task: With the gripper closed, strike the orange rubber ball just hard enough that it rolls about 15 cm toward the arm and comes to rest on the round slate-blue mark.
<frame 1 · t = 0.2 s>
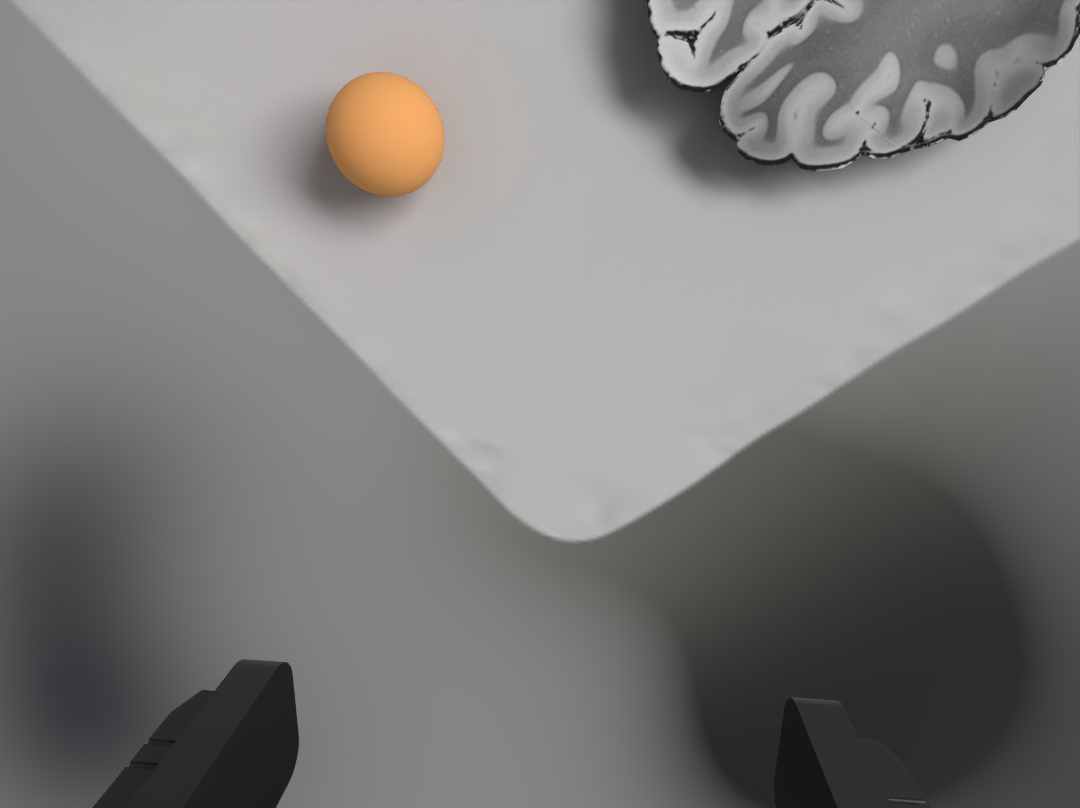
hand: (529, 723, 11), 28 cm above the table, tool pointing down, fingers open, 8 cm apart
ball: (386, 136, 33), on the table
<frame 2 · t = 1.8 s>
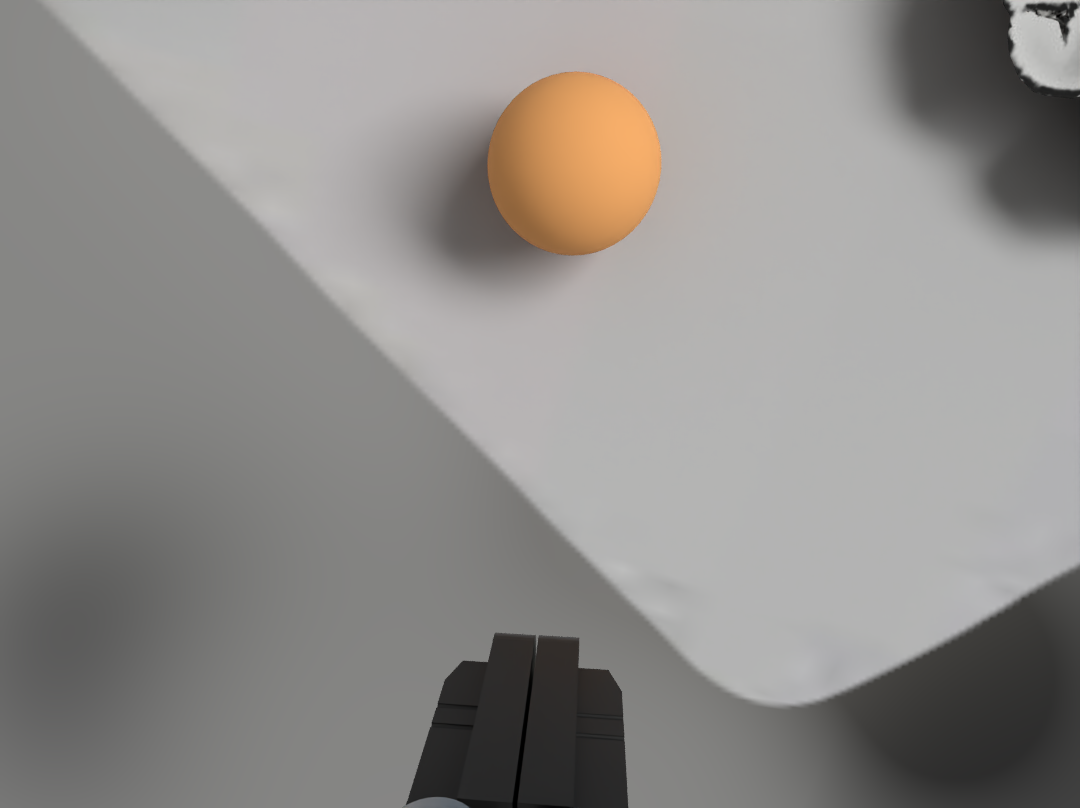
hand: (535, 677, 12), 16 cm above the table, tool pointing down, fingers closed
ball: (573, 167, 22), on the table
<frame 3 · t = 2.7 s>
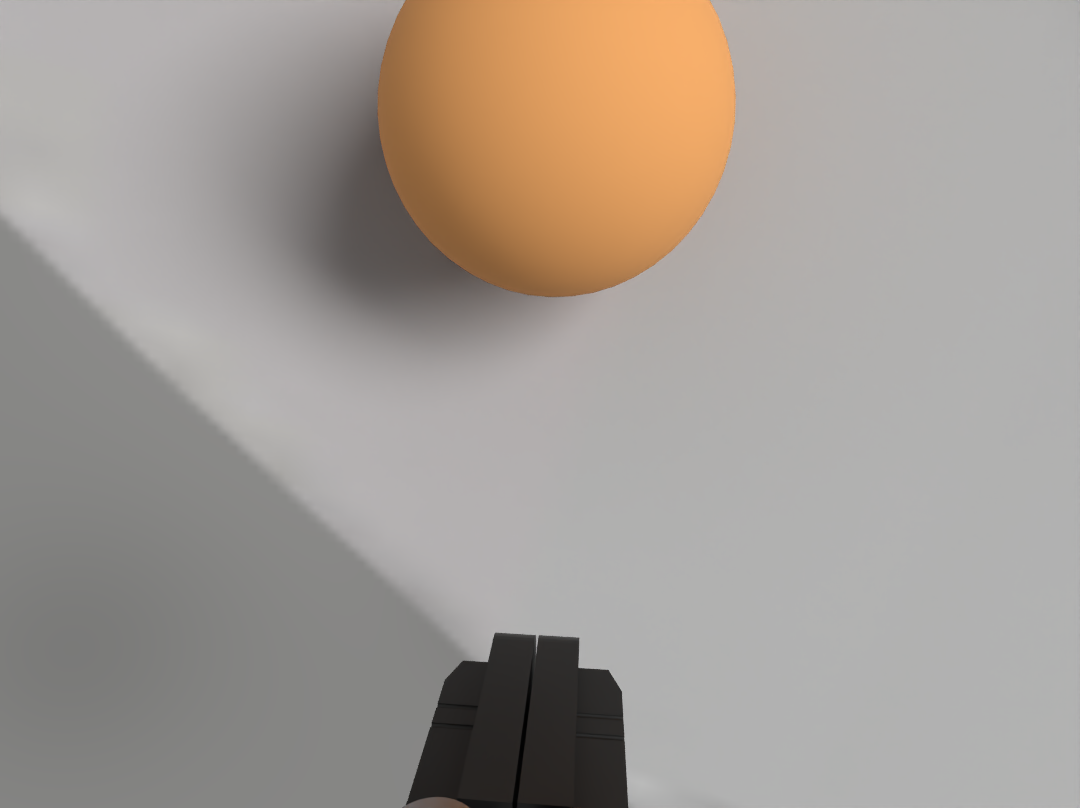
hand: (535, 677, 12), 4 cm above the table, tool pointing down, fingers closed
ball: (555, 121, 11), on the table
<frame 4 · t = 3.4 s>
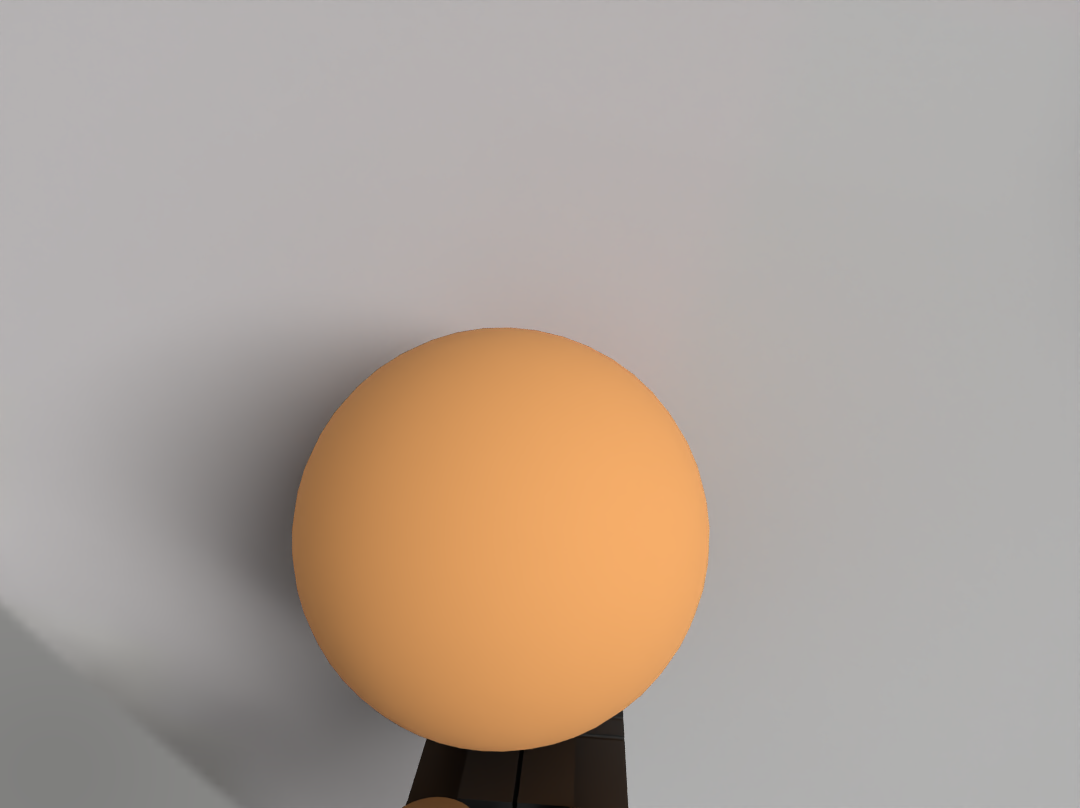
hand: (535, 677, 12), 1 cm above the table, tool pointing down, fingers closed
ball: (503, 528, 10), on the table, touching gripper
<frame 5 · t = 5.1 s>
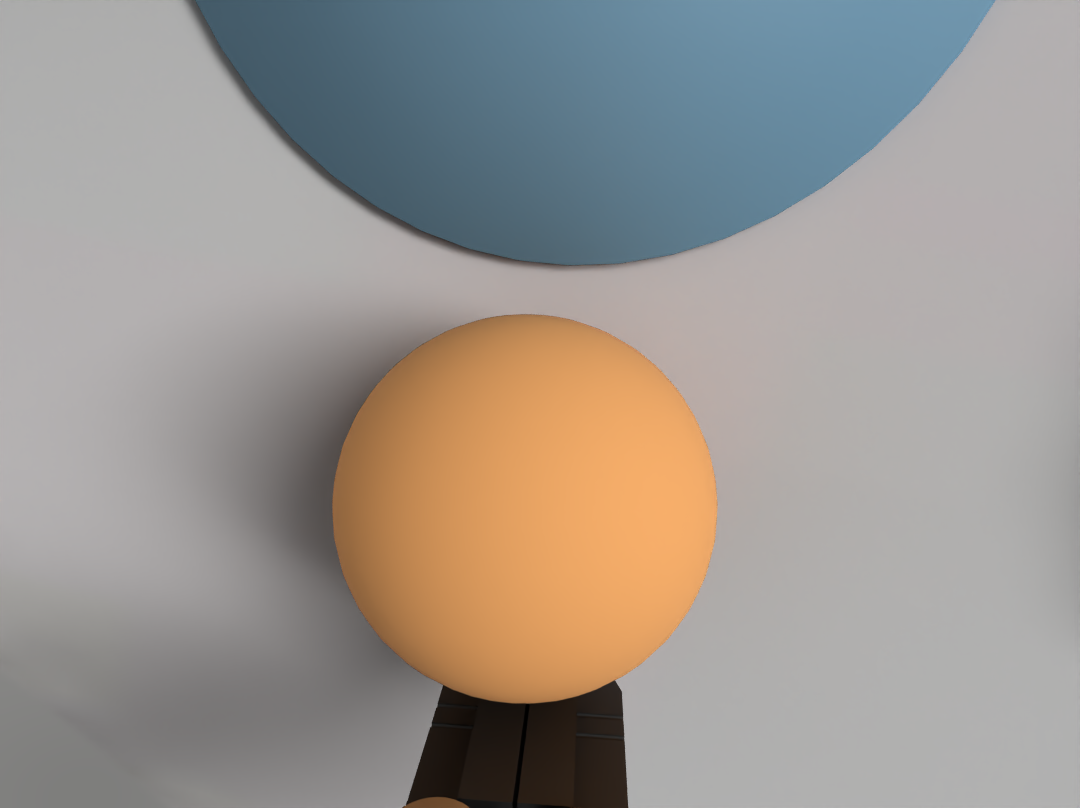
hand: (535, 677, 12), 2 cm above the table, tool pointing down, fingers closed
ball: (525, 501, 10), on the table, touching gripper
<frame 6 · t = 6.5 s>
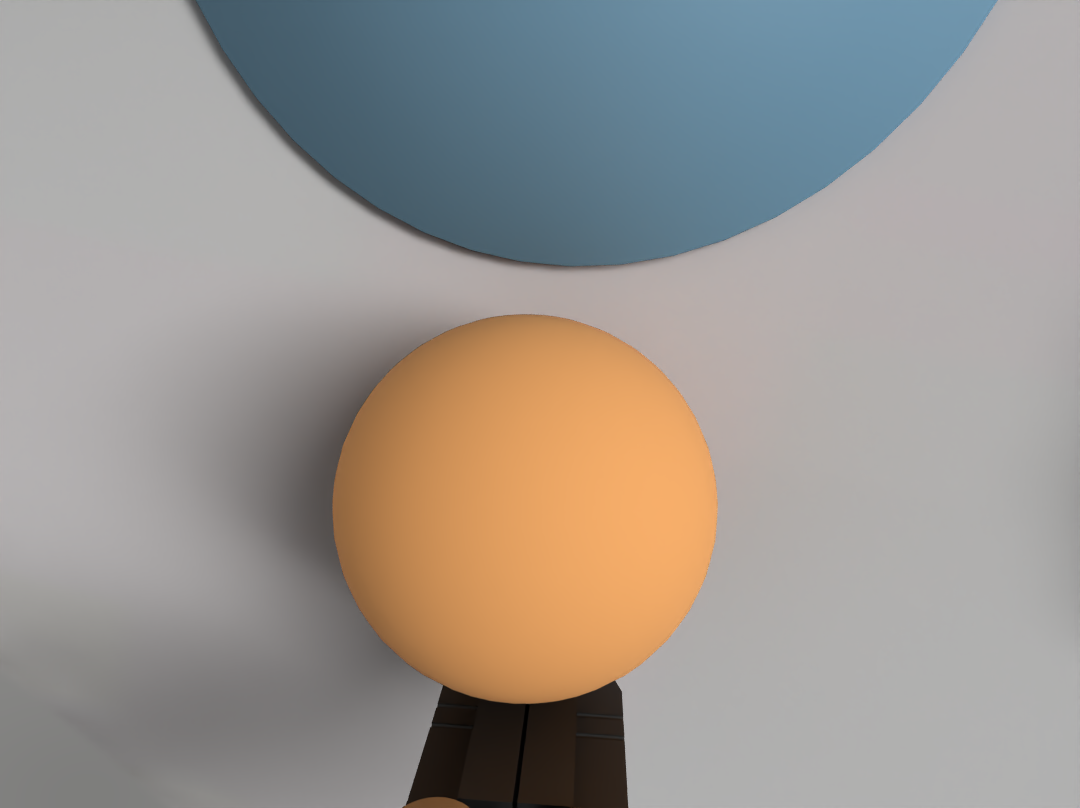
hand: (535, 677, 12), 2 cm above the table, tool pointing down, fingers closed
ball: (526, 501, 10), on the table, touching gripper
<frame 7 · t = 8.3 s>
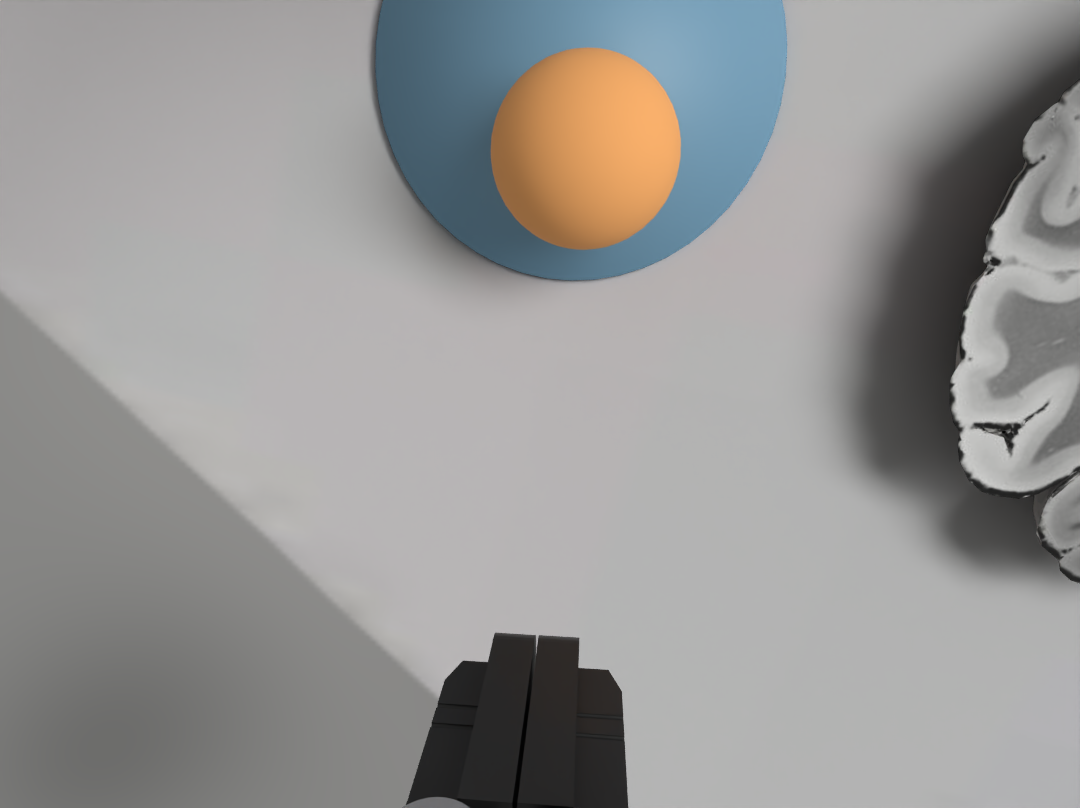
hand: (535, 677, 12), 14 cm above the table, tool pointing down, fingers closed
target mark: (576, 74, 22), on the table
ball: (584, 153, 20), resting on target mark
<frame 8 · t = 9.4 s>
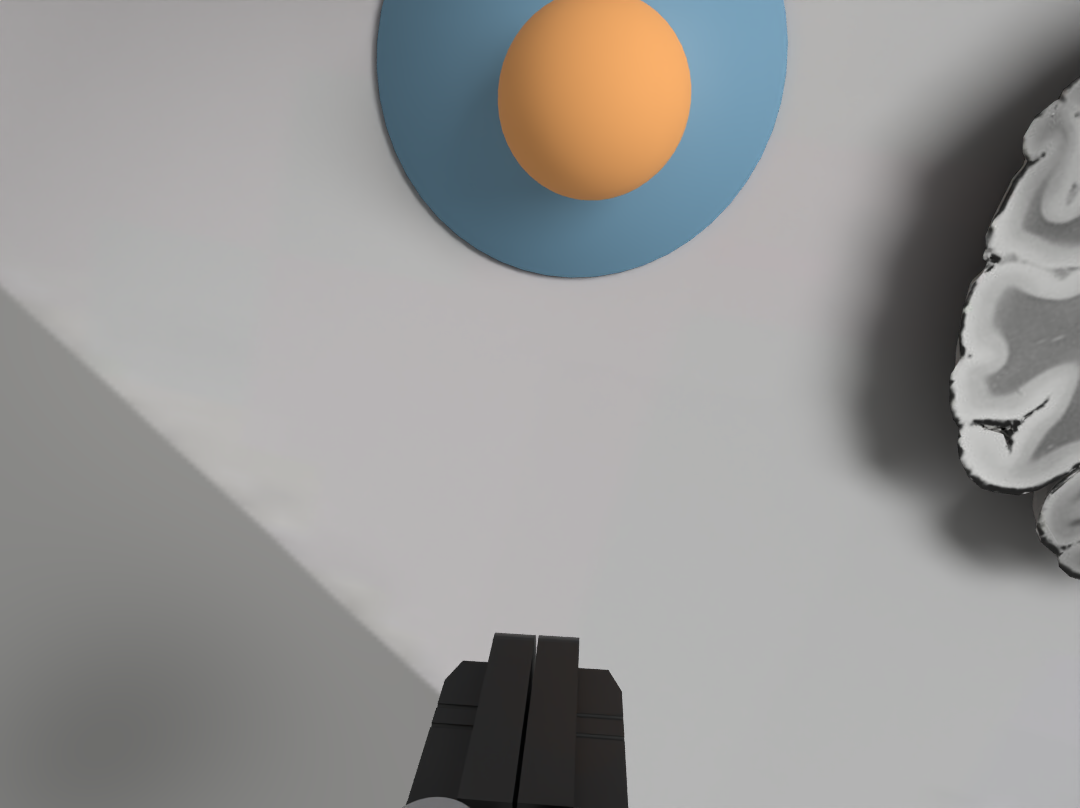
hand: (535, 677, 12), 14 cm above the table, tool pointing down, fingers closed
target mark: (577, 72, 22), on the table
ball: (593, 100, 20), resting on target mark
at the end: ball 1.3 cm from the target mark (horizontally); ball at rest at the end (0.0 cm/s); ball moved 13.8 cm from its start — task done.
